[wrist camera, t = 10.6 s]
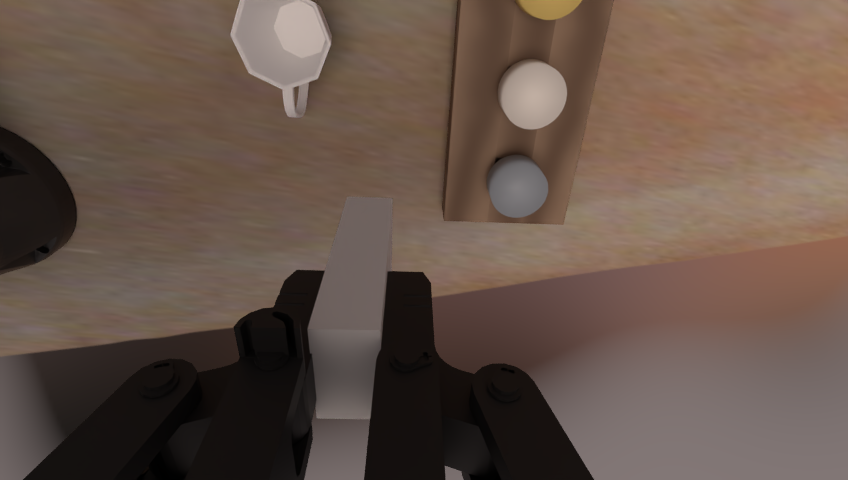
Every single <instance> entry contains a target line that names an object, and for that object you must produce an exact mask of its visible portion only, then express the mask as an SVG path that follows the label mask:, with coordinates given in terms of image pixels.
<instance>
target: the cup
mask: <svg viewBox="0 0 848 480" xmlns="http://www.w3.org/2000/svg"><path fill="white" fill-rule="evenodd" d="M230 36H231V38H232V40H233V42H234V44H235V46H236V48H237V50H238V52H239V54H240V56H241V58H242V60H243V62H244V64H245V66H246V68H247V70H248V72H249V74H251V75H254V76H256V77H258V78H260V79H262V80H264V81H266V82H268V83H270V84H272V85H274V86H276V87H278V88H280V89H282V90H283V101H284V107H285V111H286V113H287V115H288V117H295V118H302V117H303V116H304V113H305V111H306V106H307V99H308V88H309V82H310V81H313V80H316V79H318V77H319V75H320V72H321V69H322V67H323V64H324V62H325V59H326V56H327V54H328V51H329V49H330V46H331V42H332V40H331V38H332V35H331V32H330V29H329V26H328V24H327V21H326V18H325V16H324V13H323V11H322V9H321V7H320V6H319V5H318V4H316V3H315V2H313V1H311V0H240V2H239V5H238V9H237V12H236V16H235V20H234V23H233V27H232V30H231V34H230ZM296 86H299V93H298V101H297V107H296V108H295V103H294V87H296Z"/></svg>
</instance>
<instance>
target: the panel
mask: <svg viewBox="0 0 848 480" xmlns="http://www.w3.org/2000/svg"><path fill="white" fill-rule="evenodd" d="M613 2H614V0H582V1H581V3H580V4H579V5H578V6H577V7H576V8H575V9H574V10H573V11H572V12H571V13H569V14H568V15H566V16H564V17H562V18H559V19H555V20H543V19H540V18H536V17H533V16H530V15H528V14H526V13H525V12H524V11H522V10H521V9H520V7H519V6H518V5H517V3H516V2H515V0H458V2H457V16H456V29H455V43H454V56H453V69H452V83H451V96H450V110H449V123H448V137H447V150H446V164H445V177H444V191H443V204H442V210H443V217H444V221H468V222H499V223H530V224H561V225H563V224H564V220H565V216H566V211H567V207H568V202H569V198H570V193H571V189H572V184H573V180H574V175H575V171H576V167H577V162H578V158H579V153H580V149H581V144H582V140H583V135H584V131H585V127H586V122H587V118H588V113H589V109H590V104H591V100H592V95H593V91H594V86H595V82H596V78H597V73H598V69H599V64H600V60H601V55H602V51H603V46H604V42H605V38H606V33H607V29H608V24H609V20H610V15H611V11H612V6H613ZM526 59H537V60H541V61H543V62H545V63H546V64H548V65H550V66H551V67H553V68H554V69H556V70H557V71H558V72H559V73H560V74H561V75H562V77H563V78H564V81H565V83H566V87H567V98H566V103H565V105H564V108H563V110H562V112H561V113H560V114H559V116H558V117H557V118H556V119H555V120H554V121H553V122H551V123H550V124H548V125H547V126H544V127H542V128H539V129H523V128H520V127H518V126H516V125H515V124H513V123H512V122H511V121H510V120H509V118H508V117H507V116H506V114H505V113H504V111H503V110H502V108H501V106H500V104H499V100H498V87H499V83H500V80H501V78H502V76H503V75H504V73H505V72H506V71H507V70H508V69H509V68H510V67H511V66H512V65H514V64H515V63H517V62H519V61H522V60H526ZM510 155H523V156H526V157H529V158H531V159H532V160H533V161H534V162H535V163H536V164H537V165H538V167H539V168H540V170H541V171H542V173H543V174H544V176H545V177H546V179H547V182H548V194H547V197H546V200H545V202H544V203H543V205H542V206H541V207H540V208H539V209H538V210H537V211H535V212H534V213H532V214H530V215H528V216H525V217H519V218H513V217H508V216H505V215H503V214H501V213H500V212H499V211H498V210H497V209H496V208H495V207H494V205H493V203H492V201H491V198H490V195H489V192H488V189H487V176H488V173H489V171H490V170H491V168H492V167H493V165H494V164H495V163H496V162H498V161H499V160H500V159H502V158H504V157H507V156H510Z"/></svg>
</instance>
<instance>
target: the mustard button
mask: <svg viewBox="0 0 848 480" xmlns="http://www.w3.org/2000/svg"><path fill="white" fill-rule="evenodd" d="M581 1H582V0H515V2H516V3H517V5H518V6H519V7H520V9H521V10H522V11H524V12H525V13H526V14H528V15H530V16H533V17H536V18H540V19H543V20H555V19H559V18H562V17H564V16H566V15H568V14H569V13H571V12H572V11H573V10H574V9H575V8H576V7H577V6H578V5H579V4H580V3H581Z"/></svg>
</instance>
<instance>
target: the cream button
mask: <svg viewBox="0 0 848 480" xmlns="http://www.w3.org/2000/svg"><path fill="white" fill-rule="evenodd" d="M566 98H567V87H566V83H565V81H564V78H563V77H562V75H561V74H560V73H559V72H558V71H557V70H556V69H554V68H553V67H551V66H550V65H548V64H546V63H545V62H543V61H541V60H537V59H526V60H522V61H519V62H517V63H515V64H514V65H512V66H511V67H510V68H509V69H508V70H507V71H506V72H505V73H504V75H503V76H502V78H501V80H500V83H499V87H498V100H499V104H500V106H501V108H502V110H503V111H504V113H505V114H506V116H507V117H508V118H509V120H510V121H511V122H512V123H513V124H515V125H516V126H518V127H520V128H523V129H539V128H542V127H544V126H547V125H548V124H550V123H551V122H553V121H554V120H555V119H556V118H557V117H558V116H559V114H560V113H561V112H562V110H563V108H564V105H565V103H566Z"/></svg>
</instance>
